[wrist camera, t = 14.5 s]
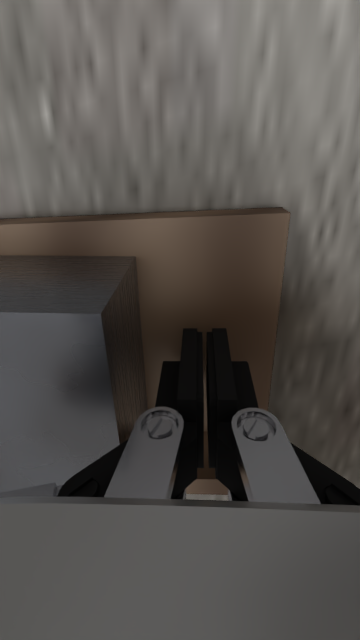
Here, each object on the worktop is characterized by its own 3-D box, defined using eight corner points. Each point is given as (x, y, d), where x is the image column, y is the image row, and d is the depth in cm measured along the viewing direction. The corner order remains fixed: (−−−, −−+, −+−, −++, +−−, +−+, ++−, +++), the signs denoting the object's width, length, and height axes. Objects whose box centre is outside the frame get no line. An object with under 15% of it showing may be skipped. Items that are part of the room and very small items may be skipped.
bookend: (135, 256, 11) (100, 313, 7) (148, 420, 15) (130, 517, 11) (-27, 255, 11) (-148, 309, 7) (26, 415, 15) (-36, 508, 11)
